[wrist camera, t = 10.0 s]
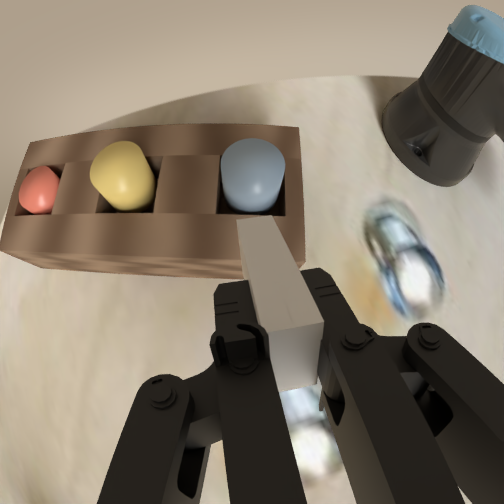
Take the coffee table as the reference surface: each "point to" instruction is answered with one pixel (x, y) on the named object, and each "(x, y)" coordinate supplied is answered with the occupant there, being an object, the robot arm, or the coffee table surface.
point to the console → (161, 210)
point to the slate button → (252, 176)
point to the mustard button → (124, 177)
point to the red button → (39, 191)
